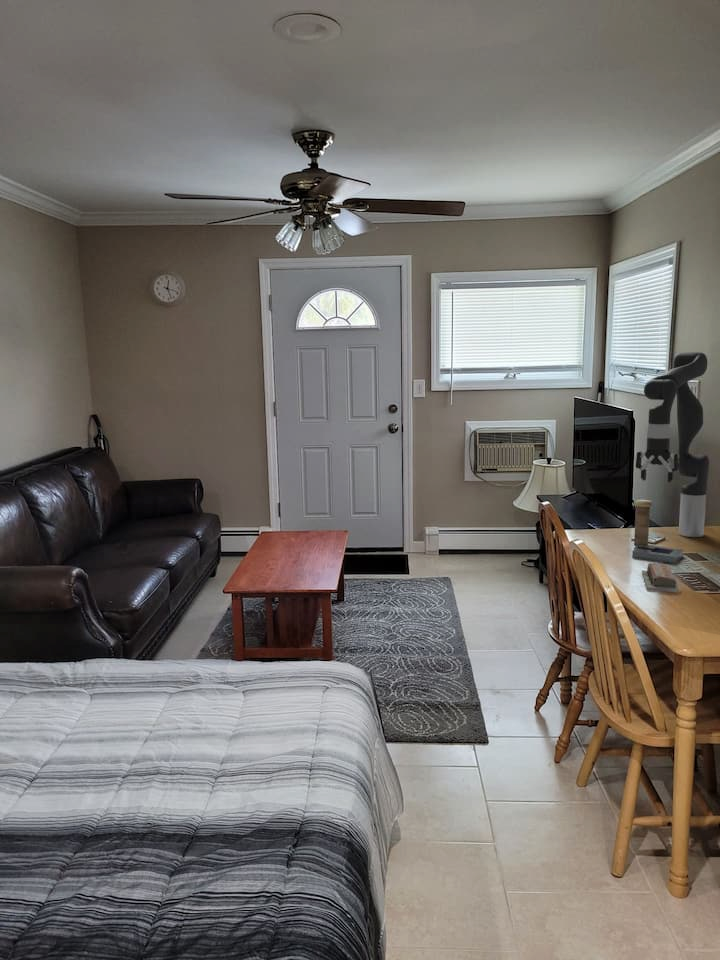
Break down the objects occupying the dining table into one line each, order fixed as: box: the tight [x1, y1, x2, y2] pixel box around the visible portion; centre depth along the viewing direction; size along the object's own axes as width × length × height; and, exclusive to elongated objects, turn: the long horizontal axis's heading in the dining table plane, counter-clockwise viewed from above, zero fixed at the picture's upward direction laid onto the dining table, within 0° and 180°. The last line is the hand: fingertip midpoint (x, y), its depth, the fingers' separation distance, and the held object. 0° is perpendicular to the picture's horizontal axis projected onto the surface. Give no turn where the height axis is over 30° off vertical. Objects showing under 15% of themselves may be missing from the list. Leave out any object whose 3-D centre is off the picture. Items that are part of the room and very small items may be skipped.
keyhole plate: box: [631, 544, 684, 564], centre depth 250 cm, size 12×15×2 cm
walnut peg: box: [633, 499, 653, 547], centre depth 265 cm, size 6×6×18 cm
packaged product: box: [641, 562, 682, 593], centre depth 221 cm, size 18×5×10 cm
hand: (656, 481), depth 245 cm, fingers open, 8 cm apart
